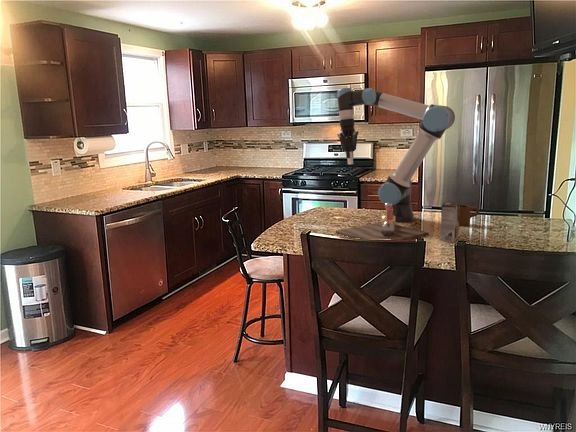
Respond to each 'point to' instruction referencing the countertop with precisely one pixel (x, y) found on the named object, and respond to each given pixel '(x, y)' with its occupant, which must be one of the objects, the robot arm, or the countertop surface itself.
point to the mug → (466, 214)
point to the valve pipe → (388, 226)
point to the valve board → (375, 232)
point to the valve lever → (389, 211)
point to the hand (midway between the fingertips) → (350, 164)
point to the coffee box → (450, 221)
